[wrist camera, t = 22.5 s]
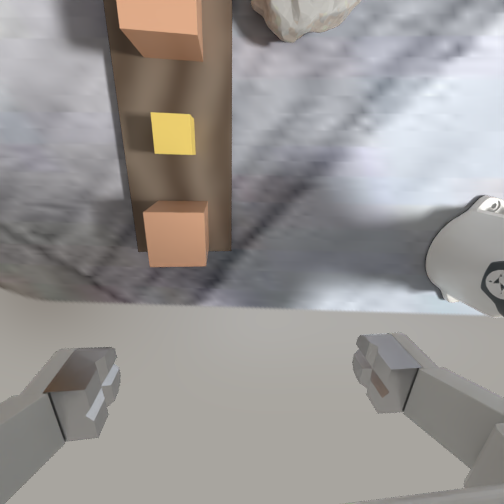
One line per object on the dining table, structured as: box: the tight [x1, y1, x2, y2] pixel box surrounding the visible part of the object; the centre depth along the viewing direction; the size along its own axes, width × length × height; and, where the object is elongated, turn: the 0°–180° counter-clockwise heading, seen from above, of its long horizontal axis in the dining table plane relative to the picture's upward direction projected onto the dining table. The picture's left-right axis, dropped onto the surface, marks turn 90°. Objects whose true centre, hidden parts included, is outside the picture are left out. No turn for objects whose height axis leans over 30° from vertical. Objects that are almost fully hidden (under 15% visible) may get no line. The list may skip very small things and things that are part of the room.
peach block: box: [116, 0, 203, 62], centre depth 24 cm, size 6×6×7 cm
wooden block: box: [143, 201, 209, 267], centre depth 32 cm, size 6×6×7 cm
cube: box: [151, 112, 196, 155], centre depth 29 cm, size 4×4×4 cm
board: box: [103, 0, 232, 252], centre depth 31 cm, size 13×32×1 cm, turn 178°
